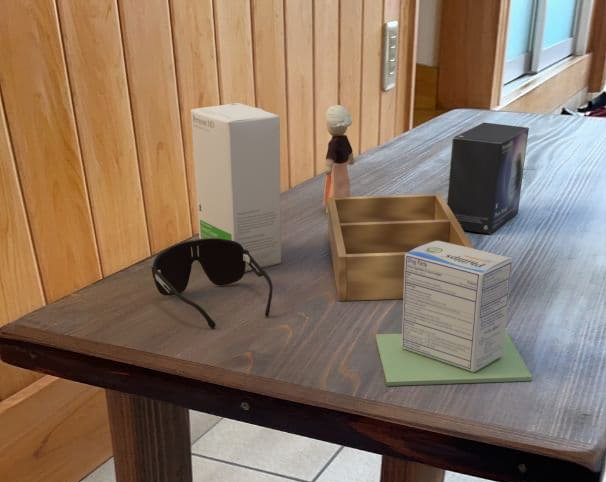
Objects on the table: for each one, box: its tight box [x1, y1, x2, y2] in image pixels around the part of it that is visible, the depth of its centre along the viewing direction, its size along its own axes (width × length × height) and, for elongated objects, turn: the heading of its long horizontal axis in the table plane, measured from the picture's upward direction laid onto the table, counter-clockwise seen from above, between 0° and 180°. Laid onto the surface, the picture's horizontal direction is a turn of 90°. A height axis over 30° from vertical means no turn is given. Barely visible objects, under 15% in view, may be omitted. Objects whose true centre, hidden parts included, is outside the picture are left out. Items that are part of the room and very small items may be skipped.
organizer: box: [327, 193, 475, 302], centre depth 94 cm, size 14×22×4 cm, turn 1°
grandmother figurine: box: [322, 104, 356, 215], centre depth 109 cm, size 8×4×13 cm, turn 164°
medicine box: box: [401, 241, 513, 372], centre depth 72 cm, size 8×4×9 cm, turn 45°
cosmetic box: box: [190, 102, 282, 273], centre depth 93 cm, size 8×7×16 cm
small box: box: [446, 121, 530, 235], centre depth 104 cm, size 11×6×10 cm, turn 150°
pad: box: [375, 329, 533, 387], centre depth 74 cm, size 12×10×1 cm
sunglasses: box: [151, 238, 273, 329], centre depth 85 cm, size 10×12×5 cm
